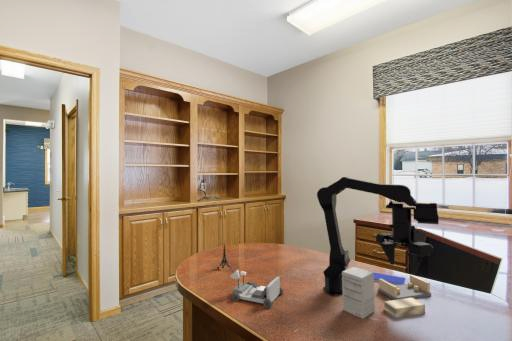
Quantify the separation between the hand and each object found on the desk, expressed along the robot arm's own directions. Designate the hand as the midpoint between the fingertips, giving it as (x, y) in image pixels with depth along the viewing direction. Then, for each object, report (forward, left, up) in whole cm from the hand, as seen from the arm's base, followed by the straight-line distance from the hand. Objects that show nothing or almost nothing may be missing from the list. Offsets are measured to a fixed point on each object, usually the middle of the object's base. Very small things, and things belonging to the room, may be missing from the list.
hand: (402, 268), depth 89 cm
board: (-2, -3, -13) cm, 13 cm away
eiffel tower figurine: (-53, +53, -13) cm, 76 cm away
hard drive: (+11, +20, -13) cm, 26 cm away
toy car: (-46, +20, -13) cm, 52 cm away
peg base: (+8, +8, -12) cm, 17 cm away
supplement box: (-16, +1, -13) cm, 21 cm away
